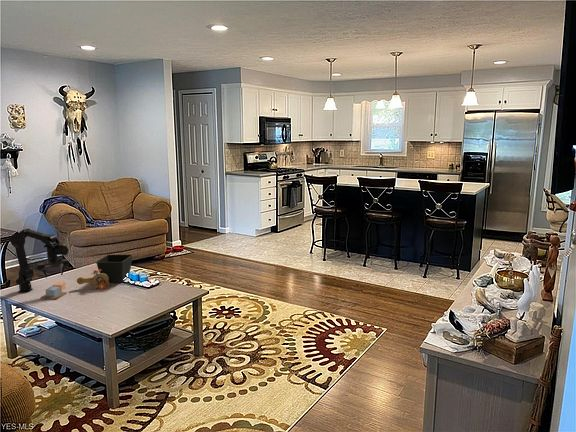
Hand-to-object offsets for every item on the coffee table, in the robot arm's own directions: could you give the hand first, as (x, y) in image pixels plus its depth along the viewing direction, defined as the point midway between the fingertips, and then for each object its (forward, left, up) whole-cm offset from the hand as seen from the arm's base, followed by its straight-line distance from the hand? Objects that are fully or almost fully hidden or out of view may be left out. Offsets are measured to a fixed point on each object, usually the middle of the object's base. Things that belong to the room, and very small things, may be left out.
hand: (54, 276), depth 285 cm
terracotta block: (-2, +7, -12) cm, 14 cm away
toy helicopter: (+21, +12, -12) cm, 27 cm away
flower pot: (+27, +30, -12) cm, 42 cm away
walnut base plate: (+2, -5, -12) cm, 13 cm away
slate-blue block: (+2, -5, -11) cm, 12 cm away
